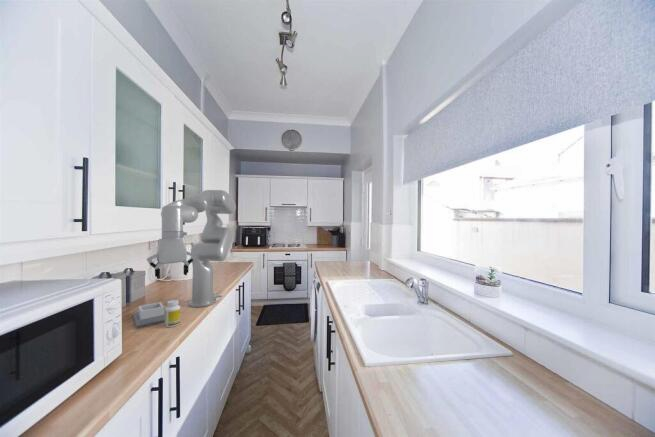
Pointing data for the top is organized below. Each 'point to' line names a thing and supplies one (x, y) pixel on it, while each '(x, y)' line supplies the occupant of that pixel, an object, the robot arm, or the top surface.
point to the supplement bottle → (172, 313)
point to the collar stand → (149, 315)
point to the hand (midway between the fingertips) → (172, 276)
